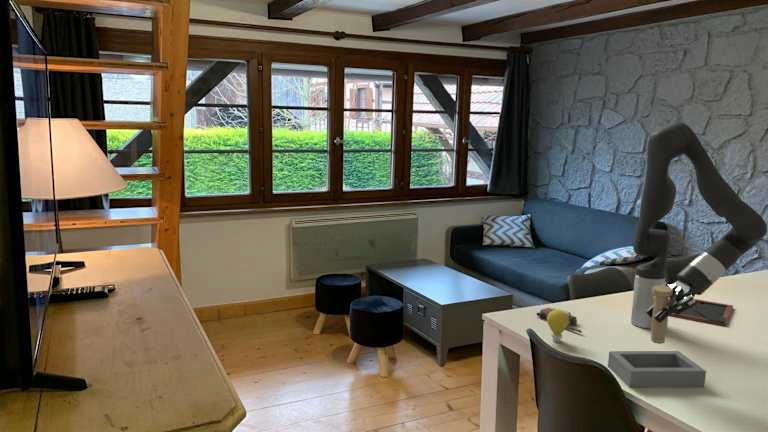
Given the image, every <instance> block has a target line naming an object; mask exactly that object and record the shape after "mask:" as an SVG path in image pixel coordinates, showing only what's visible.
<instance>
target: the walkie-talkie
mask: <svg viewBox="0 0 768 432" xmlns="http://www.w3.org/2000/svg"><path fill="white" fill-rule="evenodd" d="M553 310H556V307H553V308H551V307H547V308H542V309H540V310H539V311H540V312H536V316H537V317H539V319H542V320H544V319H545V321H547V316H548V314H549V313H550V312H551V311H553ZM559 310H562V311H564V312H565V313H566V314H567V316H568V318H569V323H568V325H567V327H566V328H565V329H567V330H571V331H573V332H578V333H580V334H581V333H582V330H580V329H578V328H576V327H572V326H575V325H577V323H578V320H577V316H574V315H572V314H571V312H569V311H566V310H564V309H562V308H561V309H559Z"/></svg>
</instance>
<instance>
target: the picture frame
mask: <svg viewBox="0 0 768 432" xmlns="http://www.w3.org/2000/svg"><path fill="white" fill-rule="evenodd" d="M694 299H695V300H696V301H697V304H696V305H695V306H693V307H691V308H689V309H688V310H686V311H684V312H682V313H681V314H679V315H676V314H675V313H674V314H670V315H669V316H668V317H672V318H678V319H682V320H687V321H693V322H700V323H702V324H703V323H704V324H710V325H714V326H718V327H719V326H720V327H725V328H726V327H727V324H728V322H729V319H730V317H731V315H732V311H733V309H734V305H732V304H726V303H720V302H715V301H708V300H703V299H696V298H694ZM681 308H682V307H681ZM681 308H680V309H681ZM678 310H679V308H678Z"/></svg>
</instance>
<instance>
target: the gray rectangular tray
mask: <svg viewBox="0 0 768 432" xmlns="http://www.w3.org/2000/svg"><path fill="white" fill-rule="evenodd" d="M607 367H608V368H609V369H610V370H611V371H612V372H613V373H614V374H615V375H616V376H617V377H618V378H619V379H620V380H622V382H623V383H624V384H626V386H627V387H628V388H705V385H706V383H705V382H706V375H707V370H705V368H703V367H702V366H700V365H699V364H697V363H696V362H695V361H693V360H692V359H690V358H689V357H688V356H686V355H685V354H683V353H682V352H680V351H679V350H641V351H640V350H619V351H618V350H616V351H613V350H609V352H608V359H607Z"/></svg>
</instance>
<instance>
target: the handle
mask: <svg viewBox="0 0 768 432" xmlns="http://www.w3.org/2000/svg"><path fill="white" fill-rule="evenodd" d="M652 293H653V294H654V295H655V301H654V308H653V314H652V322H651V329H650V334H651V336H650V339H651V342H652V343H653V344H657V345H662V344H664V343H665V342H666V335H667V331H668V330H667V329H668V322H669V320H668V319H669V316H668V317H667V318H666V319H664V320H663V321H662V322H661V323H659V322H657V321H656V320H655V319H654V316H655V315H656V314H657V313H658V312H659V311H660V310H661V309H662V308H665V306H666V305H667V304H668V299H670V298H669V297H671V296H672V294H673V289H672V288H671V287H668V286H662V285H656V286H653V287H652Z"/></svg>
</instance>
